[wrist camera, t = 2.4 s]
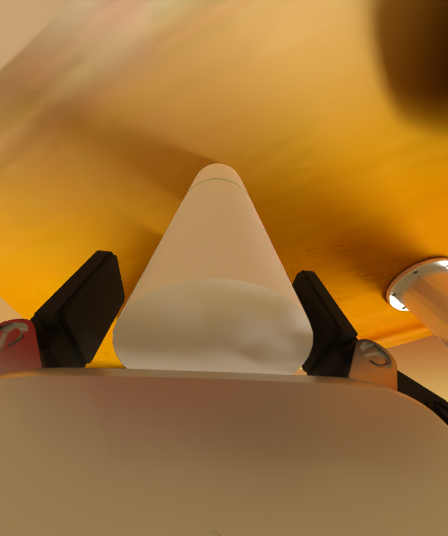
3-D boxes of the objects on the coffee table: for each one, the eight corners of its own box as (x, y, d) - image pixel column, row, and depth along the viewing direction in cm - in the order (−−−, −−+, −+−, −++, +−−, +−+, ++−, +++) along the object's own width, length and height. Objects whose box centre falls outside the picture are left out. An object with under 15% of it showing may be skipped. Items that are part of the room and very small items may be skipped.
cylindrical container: (193, 214, 30) (136, 397, 9) (191, 161, 26) (79, 274, 5) (240, 216, 30) (287, 397, 9) (245, 164, 26) (346, 281, 5)
